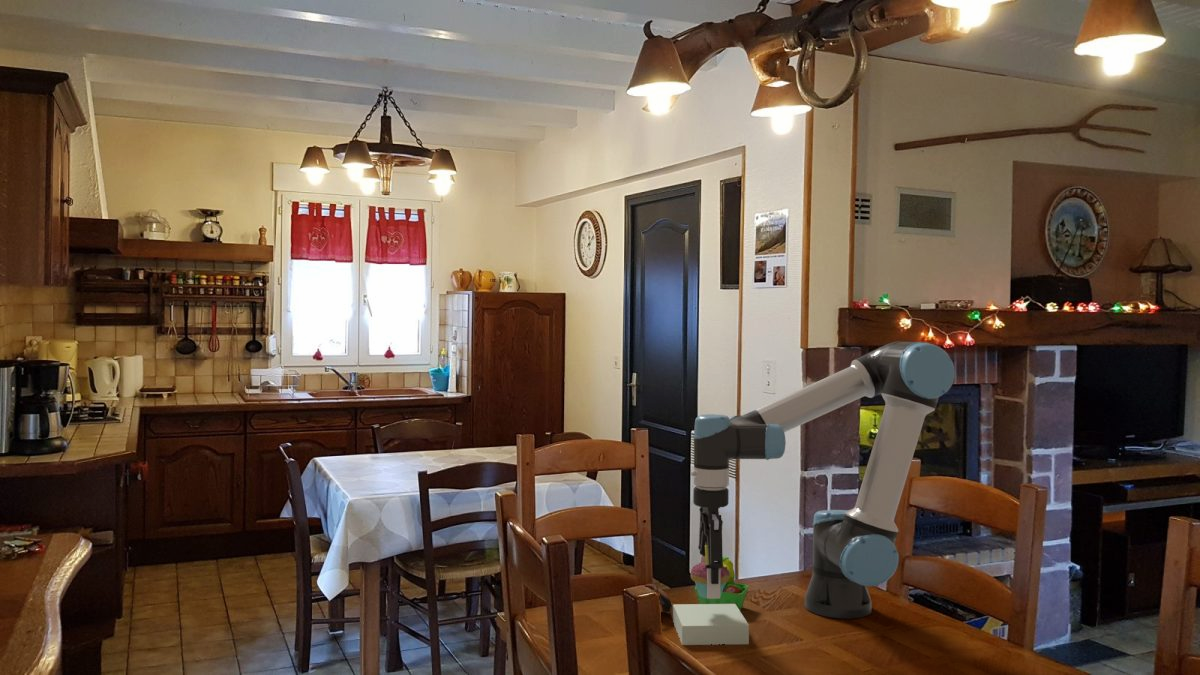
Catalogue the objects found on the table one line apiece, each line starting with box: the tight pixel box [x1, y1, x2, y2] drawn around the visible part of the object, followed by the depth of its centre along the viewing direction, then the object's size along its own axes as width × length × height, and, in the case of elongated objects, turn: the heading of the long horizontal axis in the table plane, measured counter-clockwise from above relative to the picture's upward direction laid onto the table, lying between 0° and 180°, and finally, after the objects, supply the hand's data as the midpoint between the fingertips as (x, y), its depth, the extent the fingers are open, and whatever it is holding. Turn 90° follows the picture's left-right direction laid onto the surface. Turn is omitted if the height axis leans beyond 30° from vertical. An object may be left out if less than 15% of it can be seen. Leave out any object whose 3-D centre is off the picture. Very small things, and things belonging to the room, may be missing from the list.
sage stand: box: [672, 603, 750, 646], centre depth 196 cm, size 14×14×4 cm
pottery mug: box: [643, 583, 673, 619], centre depth 207 cm, size 12×10×8 cm
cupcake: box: [690, 542, 730, 598], centre depth 196 cm, size 9×8×12 cm
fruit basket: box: [694, 556, 749, 611], centre depth 213 cm, size 11×9×11 cm
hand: (709, 591), depth 196 cm, fingers closed on cupcake, 8 cm apart
